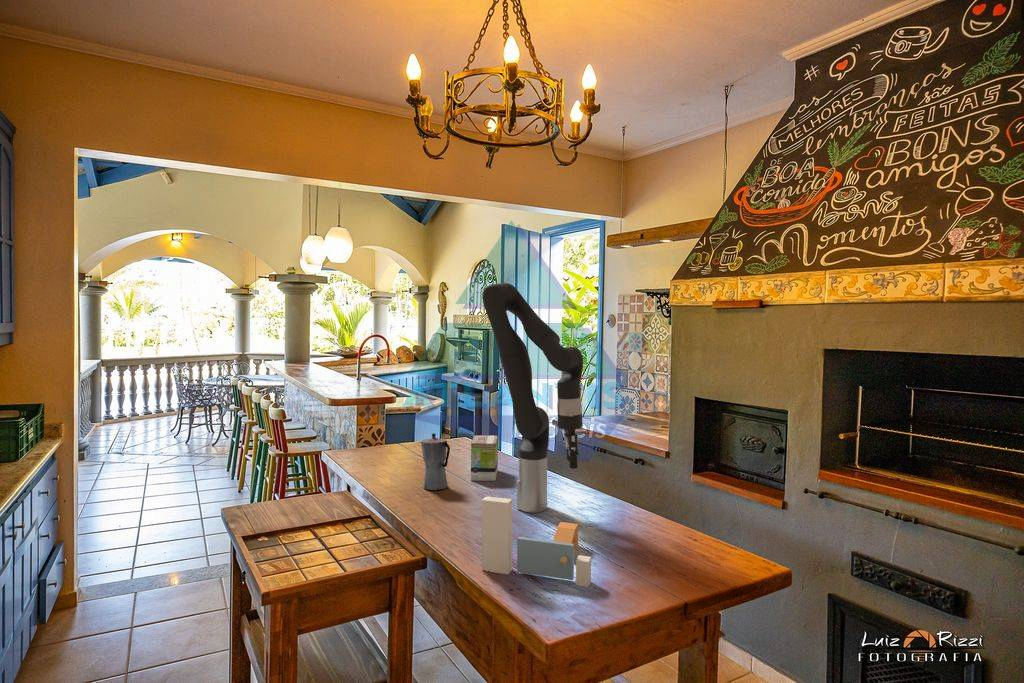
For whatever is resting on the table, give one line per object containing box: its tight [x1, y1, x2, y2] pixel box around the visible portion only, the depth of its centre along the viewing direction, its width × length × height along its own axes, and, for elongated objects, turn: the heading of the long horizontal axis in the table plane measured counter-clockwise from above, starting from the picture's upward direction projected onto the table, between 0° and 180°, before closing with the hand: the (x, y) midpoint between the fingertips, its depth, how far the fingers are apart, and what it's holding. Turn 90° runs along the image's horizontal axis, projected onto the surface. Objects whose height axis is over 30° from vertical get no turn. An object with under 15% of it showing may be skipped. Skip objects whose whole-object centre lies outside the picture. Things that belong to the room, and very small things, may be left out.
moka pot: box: [420, 432, 451, 491], centre depth 212 cm, size 10×15×20 cm, turn 51°
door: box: [516, 536, 575, 581], centre depth 140 cm, size 14×3×8 cm, turn 71°
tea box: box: [470, 434, 499, 482], centre depth 227 cm, size 15×10×15 cm
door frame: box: [481, 496, 592, 588], centre depth 141 cm, size 27×3×18 cm, turn 71°
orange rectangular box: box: [552, 521, 579, 553], centre depth 156 cm, size 11×5×6 cm, turn 161°
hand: (572, 464), depth 178 cm, fingers open, 8 cm apart
